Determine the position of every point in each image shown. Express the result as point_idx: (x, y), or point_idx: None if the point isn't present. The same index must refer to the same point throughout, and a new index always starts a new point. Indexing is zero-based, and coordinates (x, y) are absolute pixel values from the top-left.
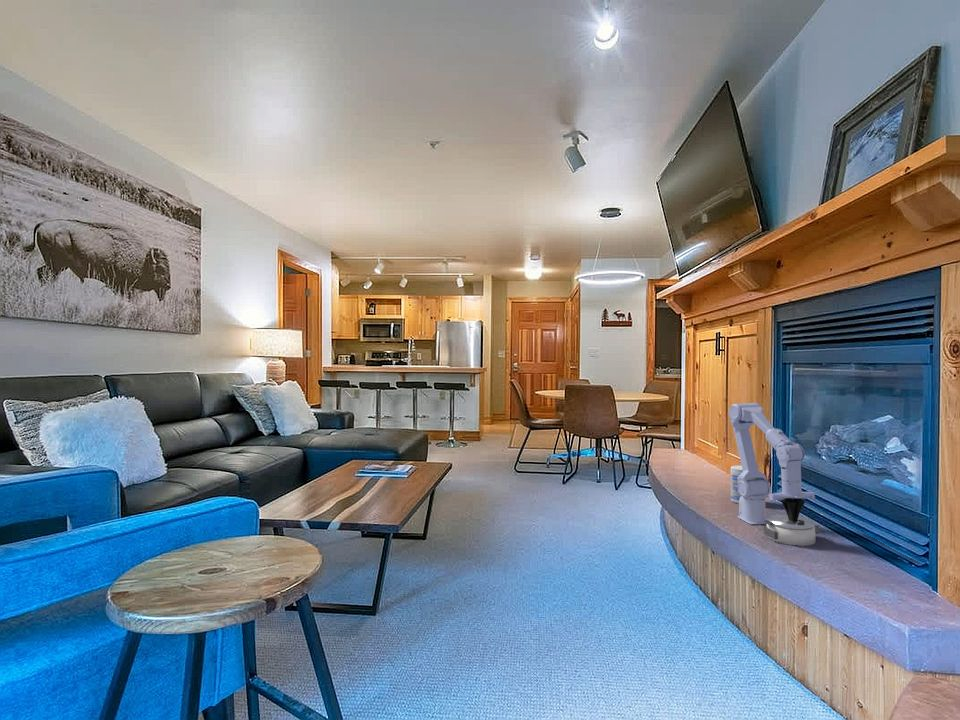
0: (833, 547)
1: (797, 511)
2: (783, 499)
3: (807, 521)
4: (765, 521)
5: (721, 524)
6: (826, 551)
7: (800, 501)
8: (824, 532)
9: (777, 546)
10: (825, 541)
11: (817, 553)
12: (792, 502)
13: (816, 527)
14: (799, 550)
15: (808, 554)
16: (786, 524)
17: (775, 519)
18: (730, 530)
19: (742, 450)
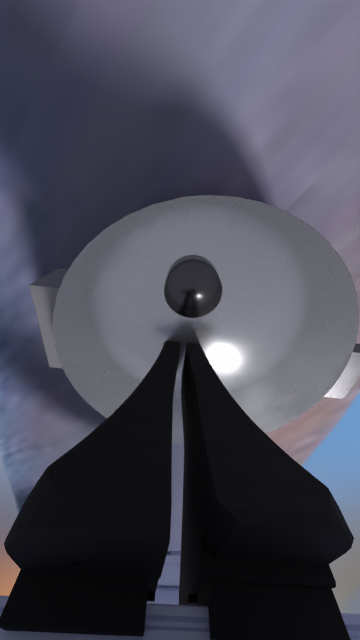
0: (70, 119)
1: (167, 390)
2: (348, 618)
3: (95, 323)
4: (343, 388)
5: (298, 455)
6: (165, 46)
7: (117, 540)
8: (3, 332)
9: (353, 228)
10: (60, 230)
11: (256, 19)
12: (295, 533)
13: (59, 282)
14: (310, 127)
15: (334, 16)
16: (304, 302)
17: (266, 395)
18: (327, 417)
19: None
